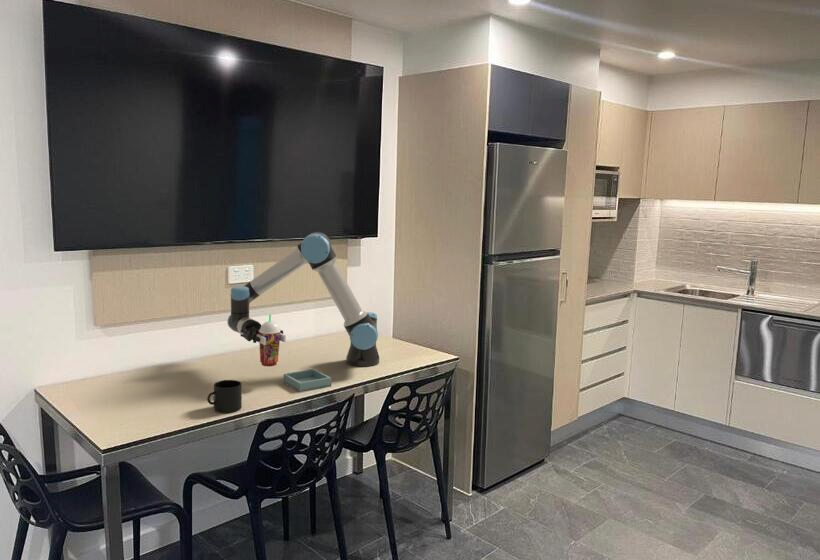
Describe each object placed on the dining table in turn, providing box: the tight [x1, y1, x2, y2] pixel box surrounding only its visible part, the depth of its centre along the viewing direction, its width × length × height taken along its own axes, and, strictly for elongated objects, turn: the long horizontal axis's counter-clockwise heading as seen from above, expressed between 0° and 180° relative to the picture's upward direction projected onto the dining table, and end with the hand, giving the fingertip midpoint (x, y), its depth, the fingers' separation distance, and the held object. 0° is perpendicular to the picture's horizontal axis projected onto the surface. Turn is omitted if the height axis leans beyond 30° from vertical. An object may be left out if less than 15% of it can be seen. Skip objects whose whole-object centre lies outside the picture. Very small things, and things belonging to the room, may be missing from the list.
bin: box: [282, 368, 332, 393], centre depth 250 cm, size 14×14×4 cm
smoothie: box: [258, 314, 282, 368], centre depth 243 cm, size 8×8×20 cm
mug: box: [206, 379, 243, 414], centre depth 219 cm, size 9×12×9 cm
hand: (274, 340), depth 239 cm, fingers closed on smoothie, 7 cm apart
